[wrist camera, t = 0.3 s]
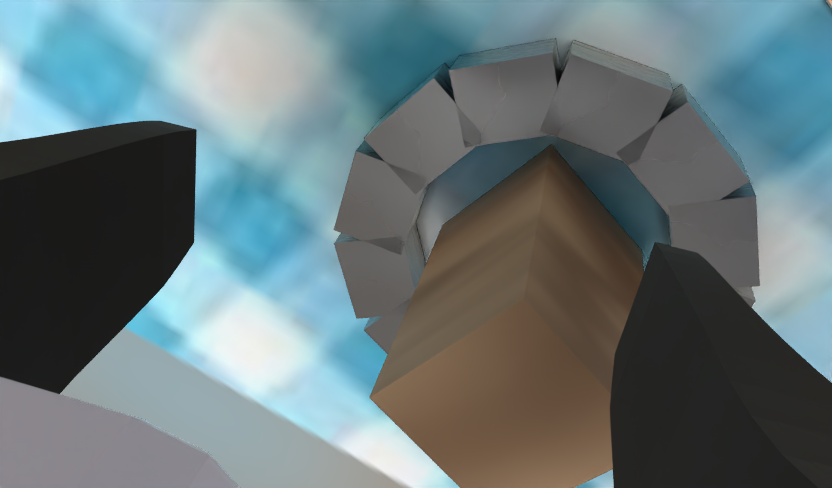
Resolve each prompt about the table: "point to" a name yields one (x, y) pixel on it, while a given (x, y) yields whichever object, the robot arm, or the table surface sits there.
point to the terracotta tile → (829, 3)
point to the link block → (516, 335)
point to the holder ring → (529, 118)
